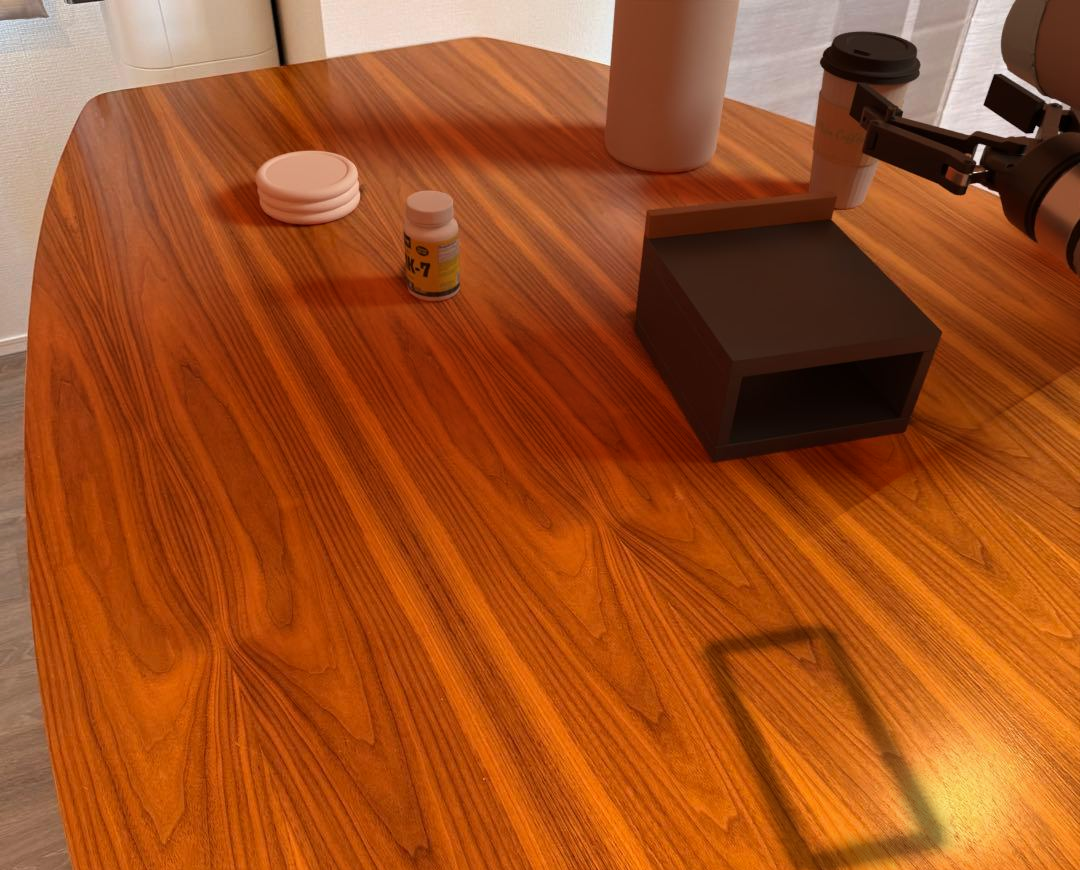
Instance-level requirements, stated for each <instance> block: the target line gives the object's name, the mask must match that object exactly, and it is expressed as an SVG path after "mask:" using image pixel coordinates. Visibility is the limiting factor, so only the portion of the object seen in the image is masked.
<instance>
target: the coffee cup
mask: <svg viewBox="0 0 1080 870" xmlns="http://www.w3.org/2000/svg"><path fill="white" fill-rule="evenodd" d="M819 65H820V68H822V69H823V72H822V73H823V74H822V81H821V89H820V90H819V91H818V92H819V93H818V99H817V100H818V101H817V107H816V117H815V125H814V132H813V140H812V151H813V152H812V159H811V160H812V161H811V168H810V177H809V184H808V185H809V186H808V194H809V193H819V192H828V191H832V192H833V193H834V194H835V195H836V196H837V199H836V203H835V207H834V209H839V210H849V209H850V210H851V209H855V208H858V207H860V206H861V205H862V204H863V203H864V202H865V200H866V197H867V195H868V192H869V190H870V187H871V185H872V182H873V179H874V177H875V174H876V172H877V169H878V166H879V164H880V161H881V160H878V159H876V158H873V157H871V156H868V155H866V154H864V153H862V147H863V144H864V140H865V136H866V133H867V131H866V130H865V129H864V128H862V127H861V126H860V123H858V122H857V121H856V120H855V119H854V118H852V117H851V116H850V115H849V113H850V109H851V105H852V101H853V98H854V94H855V90H856V86H857V83H866V84H868V85H869V86H870V87H872V88H873V89H874V90H876V91H877V92H878V93H880V94H881V95H882V96H883V97H885V98H886V99H887V100H889V101H890V102H891V103H893V104H894V105H895V106H898V108H899V109H901V110H902V108H903V106H904V103H905V100H904V99H905V96H906V94H907V91H908V88H909V85H910V83H911V82H913V81H915V80H917V79H918V78H919V77H920V75H921V70H920V69H921V66H922V65H921V61H920V60H919V58H918V48H917V46H916V45H915V44H914V43H913V42H911V41H909V40H907V39H905V38H903V37H900V36H897V35H893V34H889V33H885V32H878V31H862V30H861V31H859V30H858V31H849V32H848V31H847V32H844V33H840V34H838V35H836V36H835V37H834V38H833V39H832V42H831V45H829V46H828V47H826V48H825V49H824V50H823V52H822V57H821V58H820V60H819Z"/></svg>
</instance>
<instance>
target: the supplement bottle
mask: <svg viewBox="0 0 1080 870" xmlns="http://www.w3.org/2000/svg"><path fill="white" fill-rule="evenodd" d="M405 216H406V218H405V220H404V221H403V222H404V223H403V226H402V227H403V228H402V229H403V230H402V231H403V245H404V260H405V270H406V271H405V273H406V284H407V290H408V293H410V295H412V296H413V297H415V298H417V299H419V300H422V301H425V302H442V301H445V300H448V299H451V298H453V297H454V296H456V295H457V294H458V292H459V291H460V289H461V264H460V263H461V262H460V235H459V234H460V233H459V232H460V231H459V224H458V222H457V220H456V219H455V217H454V216H455V210H454V200H453V198H452V197H451V195H449V194H448V193H445V192H443V191H441V190H440V191H438V190H432V189H431V190H419V191H415V192H413V193H411V194H410V195H408V196H407V197H406V199H405Z"/></svg>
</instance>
